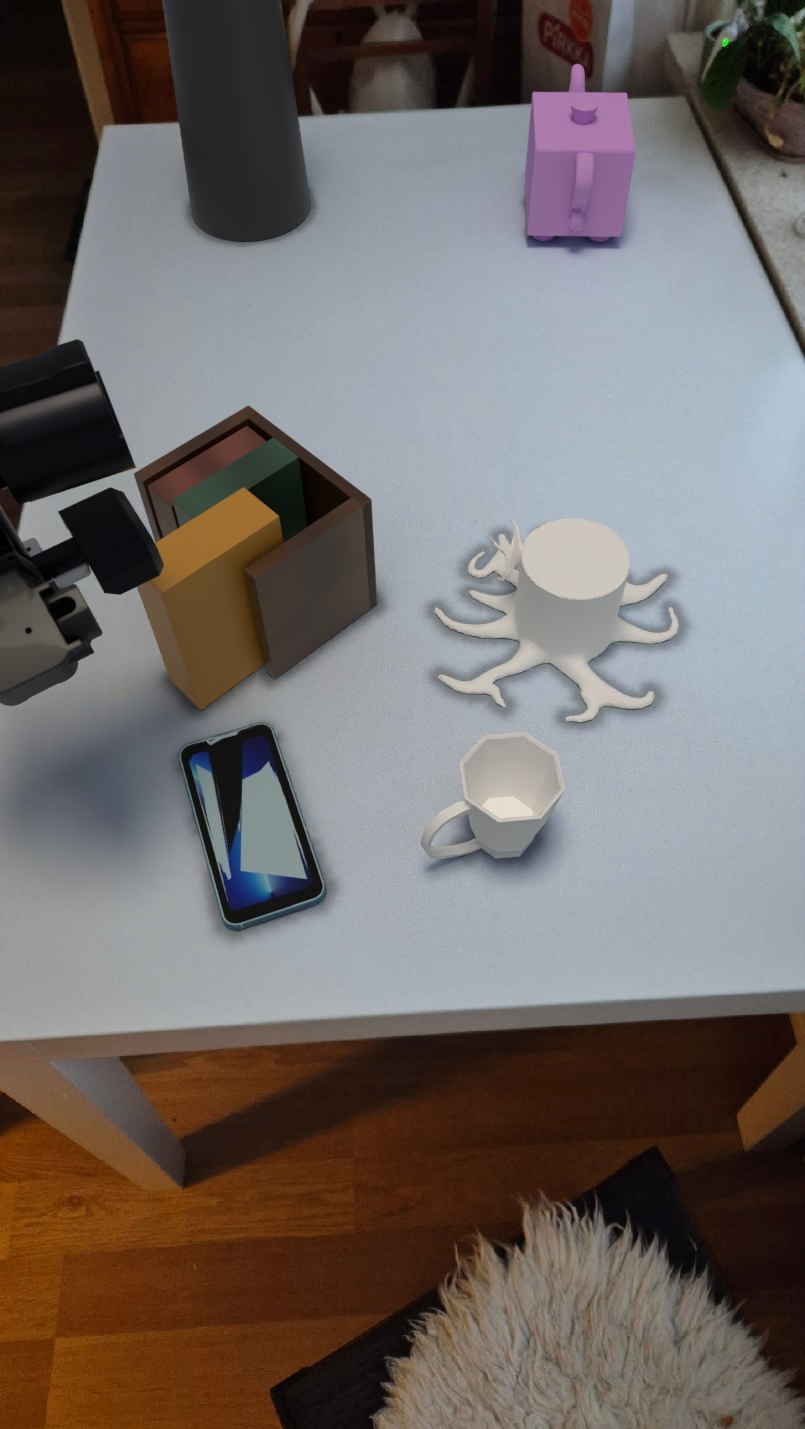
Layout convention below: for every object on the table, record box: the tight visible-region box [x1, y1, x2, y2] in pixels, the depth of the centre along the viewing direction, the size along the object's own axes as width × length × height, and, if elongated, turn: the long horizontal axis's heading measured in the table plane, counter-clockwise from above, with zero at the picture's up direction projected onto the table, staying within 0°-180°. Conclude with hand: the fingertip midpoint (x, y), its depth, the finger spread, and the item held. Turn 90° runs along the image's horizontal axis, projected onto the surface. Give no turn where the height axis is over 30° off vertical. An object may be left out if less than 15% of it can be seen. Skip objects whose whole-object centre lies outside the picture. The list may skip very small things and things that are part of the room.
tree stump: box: [433, 517, 680, 723], centre depth 78 cm, size 20×19×8 cm
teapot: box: [524, 63, 637, 243], centre depth 109 cm, size 20×10×12 cm, turn 177°
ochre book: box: [136, 487, 283, 711], centre depth 75 cm, size 10×4×14 cm, turn 133°
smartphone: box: [177, 722, 327, 930], centre depth 72 cm, size 7×1×15 cm
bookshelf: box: [133, 405, 378, 680], centre depth 79 cm, size 11×14×13 cm
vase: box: [161, 0, 311, 242], centre depth 104 cm, size 14×14×29 cm
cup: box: [420, 731, 566, 860], centre depth 68 cm, size 7×10×8 cm
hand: (45, 670), depth 65 cm, fingers closed
